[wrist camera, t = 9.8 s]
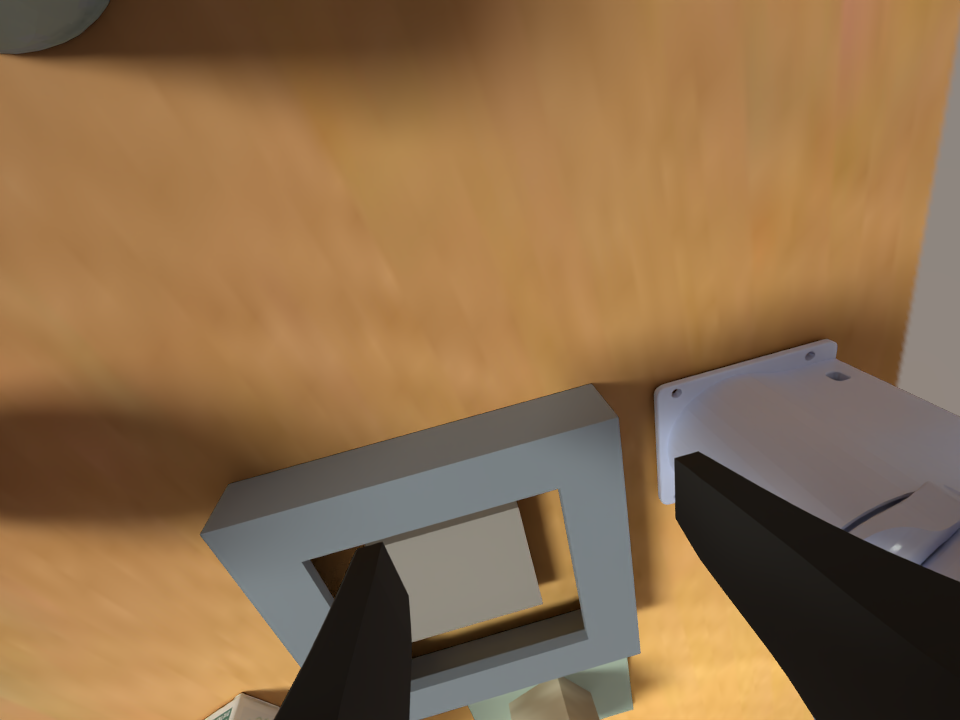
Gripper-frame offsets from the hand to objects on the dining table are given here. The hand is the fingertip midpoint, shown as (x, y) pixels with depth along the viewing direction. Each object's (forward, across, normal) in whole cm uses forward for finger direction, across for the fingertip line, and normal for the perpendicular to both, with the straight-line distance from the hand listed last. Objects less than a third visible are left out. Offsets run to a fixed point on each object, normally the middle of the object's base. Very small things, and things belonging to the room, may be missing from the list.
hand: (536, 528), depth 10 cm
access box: (+10, +4, +12) cm, 16 cm away
